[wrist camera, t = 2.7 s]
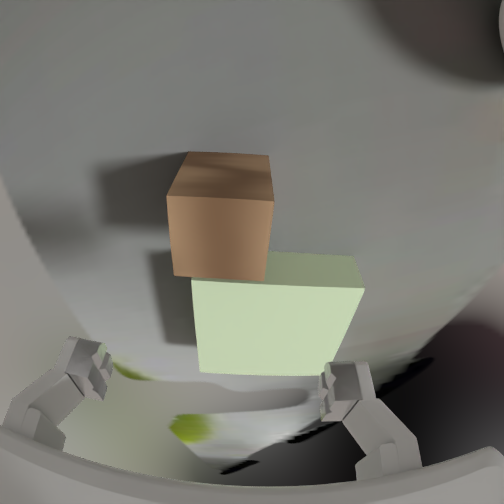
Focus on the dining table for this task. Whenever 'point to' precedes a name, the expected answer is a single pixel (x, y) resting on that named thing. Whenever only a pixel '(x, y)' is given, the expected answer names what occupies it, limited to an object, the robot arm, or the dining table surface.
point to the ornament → (501, 23)
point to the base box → (277, 316)
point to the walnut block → (221, 216)
